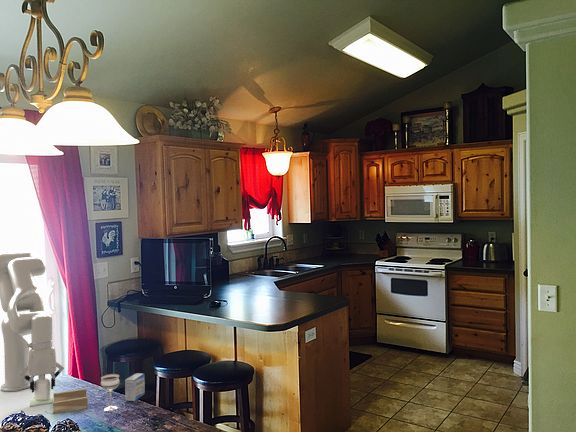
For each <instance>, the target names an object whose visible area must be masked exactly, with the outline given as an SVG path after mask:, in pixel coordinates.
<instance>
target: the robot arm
mask: <svg viewBox="0 0 576 432" xmlns="http://www.w3.org/2000/svg"><path fill="white" fill-rule="evenodd" d="M45 263H46V262H45V260H44V259H43V258H42V257H41V256H40V255H39V254H37V253H36V252H34V251H32V250H15V251H13V250H12V251H2V252H0V304H1V309H2V311H3V312H4V313H6V314H7V316H6V317H5V318H3V319H2V321H1V325H0V326H1V327H0V328H1V333H2V337H3V347H4V348H3V349H4V351H3V352H4V356H3V357H4V383H3V384H1V386H0V390H1V391H2V392H16V391H21V390H22V391H23V390H25V389H29V390H30V391H31V393H35V380H34V379H35V377H37V376H38V375H45V376H46V375H50V377H51V379H50V390H54V387H56V378H57V377H59V375H60V374H61V373H62V372H63V371H64V369H65V367H64V366H63V365H62V364H60V363H58V362H57V354H56V348H55V347H54V346H53V316H52V315H51V314H49V313H47V312H46V311H45V309H44V304H43V298H42V295H41V293H40V292H39V290H37V288H38V287H37V284H36V281H35V278H34V277H35V276H36V277H37V276H39V277H40V276H42V275H44V274H45V273H46V264H45ZM26 311H29V312H26ZM20 312H23V313H20ZM27 335H28V336H29V335H31V342H30V343H28V341H27V340H26V339H25V338H24V337H23V336H27ZM57 368H58V369H57Z"/></svg>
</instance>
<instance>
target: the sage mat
mask: <svg viewBox="0 0 576 432" xmlns="http://www.w3.org/2000/svg"><path fill="white" fill-rule="evenodd" d="M53 402H54V393H53V394H50V398H49V399H48V400H44V401H38V400H35V396H34V397H31V398H30V402H29V407H30V408H31V407H36V406H43V405H49V404H53Z"/></svg>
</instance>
